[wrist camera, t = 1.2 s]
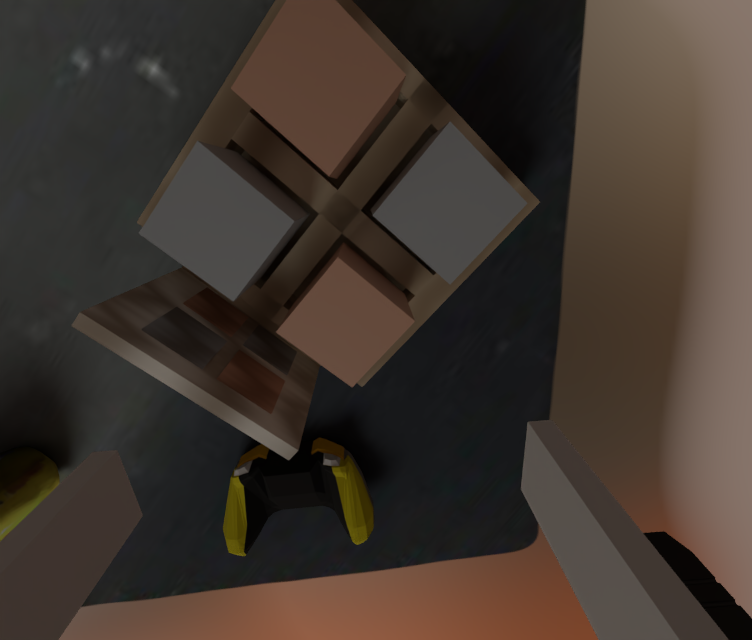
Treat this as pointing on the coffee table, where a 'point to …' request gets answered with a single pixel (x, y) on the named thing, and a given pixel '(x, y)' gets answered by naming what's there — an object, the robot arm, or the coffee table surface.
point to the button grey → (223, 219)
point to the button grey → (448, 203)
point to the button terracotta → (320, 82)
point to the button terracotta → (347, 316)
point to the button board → (285, 261)
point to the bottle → (23, 484)
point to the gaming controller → (296, 490)
